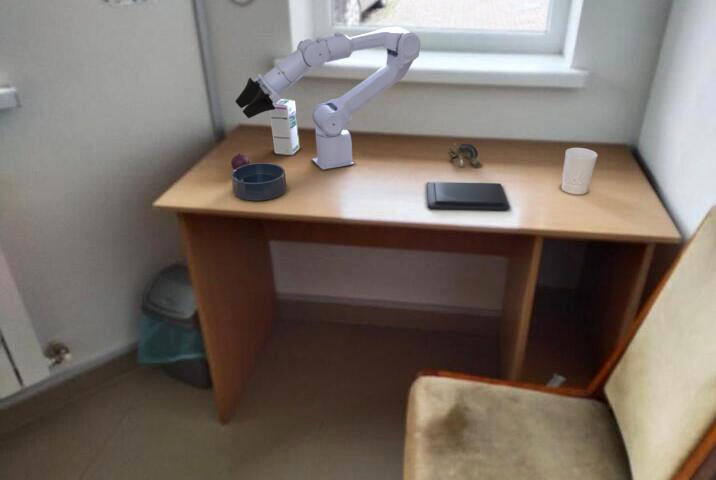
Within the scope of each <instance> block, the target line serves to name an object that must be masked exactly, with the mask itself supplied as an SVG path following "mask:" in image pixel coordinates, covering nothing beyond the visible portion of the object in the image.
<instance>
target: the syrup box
mask: <svg viewBox="0 0 716 480" xmlns="http://www.w3.org/2000/svg"><path fill="white" fill-rule="evenodd" d="M273 105H274V107H275V108H276V109H274V110H269V111H268V112H269V118H270V126H271V127H270V128H271V134H272V140H273V141H272V144H273V150H274V151H273V152H274V154H277V155H285V156H293V155H295V154H296V152H298V150H300V149H301V146H300V135H299V128H298V127H299V126H298V118H297V117H298V116H297V109H296V108H297V107H296V101H295V100H294V99H288V98H280V100H279V101H278V102H277V103H275V104H274V103H273Z"/></svg>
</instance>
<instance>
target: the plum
mask: <svg viewBox="0 0 716 480" xmlns="http://www.w3.org/2000/svg"><path fill="white" fill-rule="evenodd" d="M248 164H251V162H250V159H249V158H248V157H247V156H246V155H244V154H241V152H238V154H236V155H234V156H233V157H232V159H231V162H230V165H231V168H232V169H233V171H234V170H235V169H237V168H238V167H241V166H244V165H248Z"/></svg>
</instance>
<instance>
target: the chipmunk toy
mask: <svg viewBox="0 0 716 480" xmlns="http://www.w3.org/2000/svg"><path fill="white" fill-rule="evenodd" d="M453 145H454V146H455V149H456V151H454V149H453V148H452V147H449V149H447V150H446V154H448V155H449V158H450V163H452V162H453V161H454V160H457V159H458V161H459V164H460V168H462V167H463V165H464V160H467V161H468V162H470V163H471V164H472V165H473V166H474V167H475V168H481V167H482V165H481V163H480V162H479V161H478V159H477V158H478V157H479V152H478V150H477V148H476V147H475V146H474V145H472V144H471V143H462V144H460V145H459V146H457V144H456V143H453Z"/></svg>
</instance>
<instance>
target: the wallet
mask: <svg viewBox="0 0 716 480" xmlns="http://www.w3.org/2000/svg"><path fill="white" fill-rule="evenodd" d="M426 198H427V208H428V209H429V210H438V211H486V212H487V211H491V212H492V211H493V212H506V211H508V210H509V209H510V205H509V204H510V203H509V201H508V199H507V196H506V194H505V191H504V189H503V186H502V183H499V182H497V183H496V182H467V181H465V182H463V181H462V182H461V181H459V182H458V181H427V182H426Z"/></svg>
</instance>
